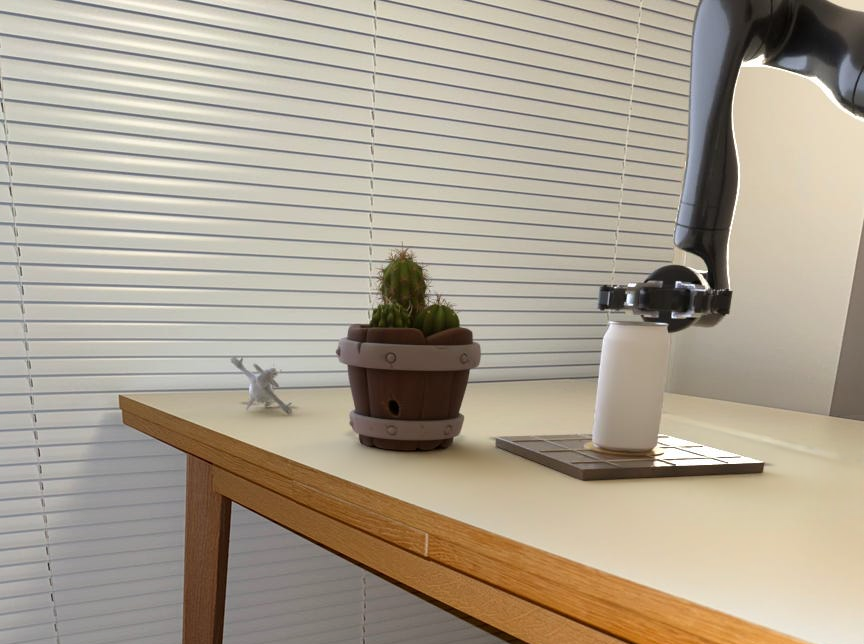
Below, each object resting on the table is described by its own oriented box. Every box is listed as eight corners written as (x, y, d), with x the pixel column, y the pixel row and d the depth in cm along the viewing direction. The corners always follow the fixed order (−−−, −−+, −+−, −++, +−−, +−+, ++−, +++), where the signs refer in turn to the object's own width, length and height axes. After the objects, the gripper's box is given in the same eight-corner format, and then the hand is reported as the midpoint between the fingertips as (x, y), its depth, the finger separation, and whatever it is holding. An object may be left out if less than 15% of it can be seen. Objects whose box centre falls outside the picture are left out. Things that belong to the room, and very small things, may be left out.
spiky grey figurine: (307, 408, 126) (308, 391, 117) (276, 441, 126) (274, 427, 117) (250, 355, 125) (246, 334, 116) (219, 388, 125) (212, 370, 116)
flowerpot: (492, 456, 96) (508, 240, 89) (340, 455, 94) (344, 233, 87) (461, 433, 110) (473, 243, 103) (327, 431, 108) (329, 238, 100)
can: (668, 448, 97) (685, 324, 93) (635, 455, 93) (652, 325, 89) (612, 439, 102) (626, 320, 97) (578, 445, 97) (591, 321, 93)
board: (654, 441, 109) (656, 431, 108) (763, 472, 93) (765, 461, 93) (494, 446, 102) (495, 435, 102) (582, 480, 86) (583, 468, 86)
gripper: (618, 263, 117) (593, 260, 102) (742, 266, 112) (733, 263, 98) (611, 328, 119) (585, 334, 105) (732, 334, 114) (722, 341, 100)
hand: (657, 300), depth 101 cm, fingers open, 8 cm apart
